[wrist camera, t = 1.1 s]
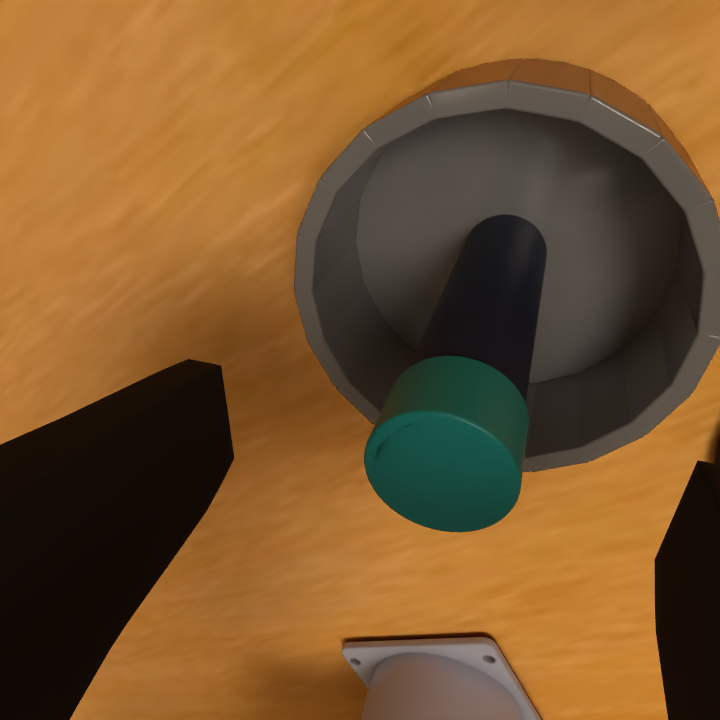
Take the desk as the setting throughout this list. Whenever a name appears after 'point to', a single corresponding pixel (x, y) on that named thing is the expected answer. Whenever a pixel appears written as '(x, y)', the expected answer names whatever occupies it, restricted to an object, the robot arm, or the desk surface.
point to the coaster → (718, 455)
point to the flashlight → (466, 389)
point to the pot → (559, 229)
